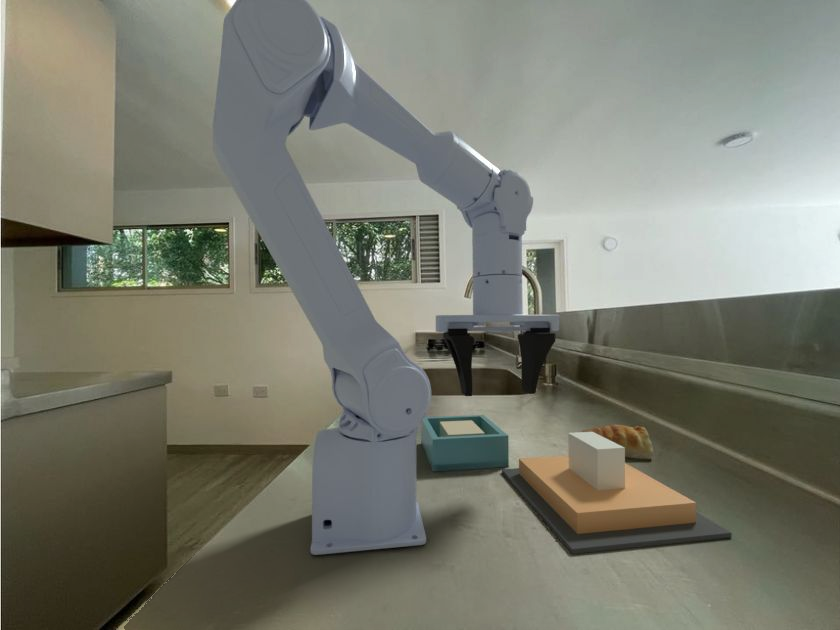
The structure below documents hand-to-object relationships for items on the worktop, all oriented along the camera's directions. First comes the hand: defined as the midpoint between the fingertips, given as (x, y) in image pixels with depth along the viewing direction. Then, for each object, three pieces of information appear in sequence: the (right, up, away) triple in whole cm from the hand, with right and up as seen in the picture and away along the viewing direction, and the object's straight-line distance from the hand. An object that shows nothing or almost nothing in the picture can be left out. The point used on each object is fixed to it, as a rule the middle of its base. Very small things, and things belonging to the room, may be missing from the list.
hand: (498, 393), depth 40 cm
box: (-3, -11, +8) cm, 14 cm away
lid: (+9, -9, -4) cm, 14 cm away
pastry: (+20, -11, +10) cm, 25 cm away
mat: (+9, -10, -4) cm, 15 cm away
